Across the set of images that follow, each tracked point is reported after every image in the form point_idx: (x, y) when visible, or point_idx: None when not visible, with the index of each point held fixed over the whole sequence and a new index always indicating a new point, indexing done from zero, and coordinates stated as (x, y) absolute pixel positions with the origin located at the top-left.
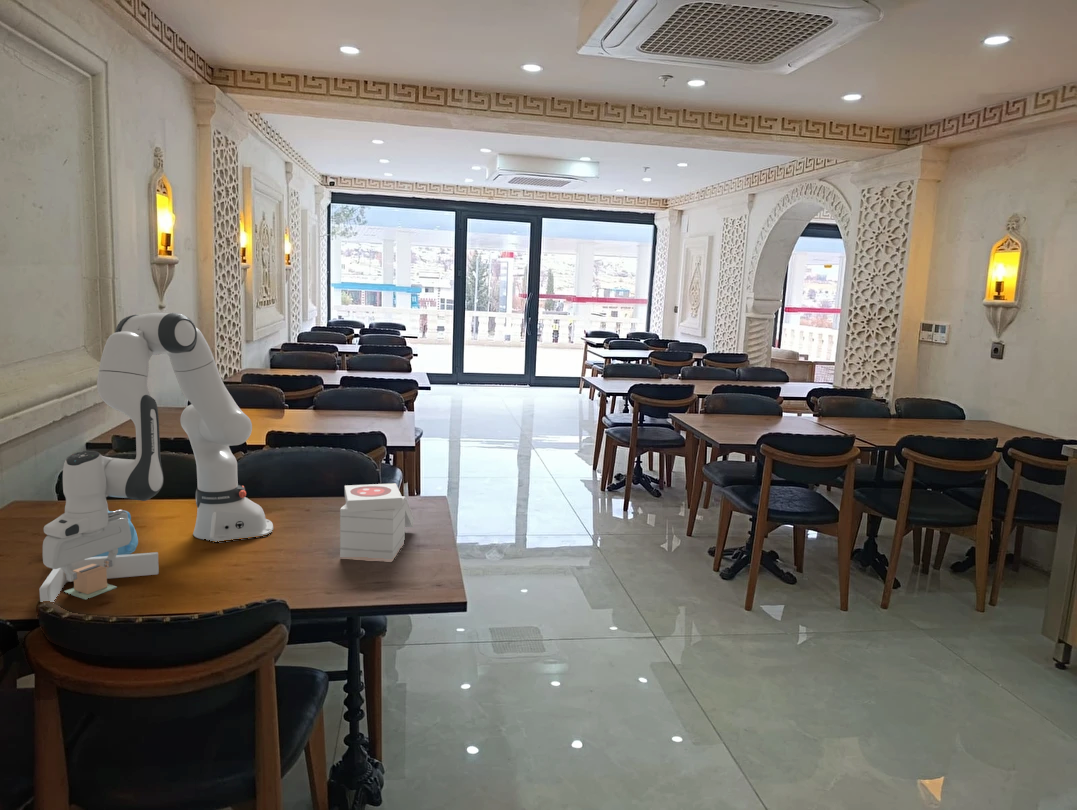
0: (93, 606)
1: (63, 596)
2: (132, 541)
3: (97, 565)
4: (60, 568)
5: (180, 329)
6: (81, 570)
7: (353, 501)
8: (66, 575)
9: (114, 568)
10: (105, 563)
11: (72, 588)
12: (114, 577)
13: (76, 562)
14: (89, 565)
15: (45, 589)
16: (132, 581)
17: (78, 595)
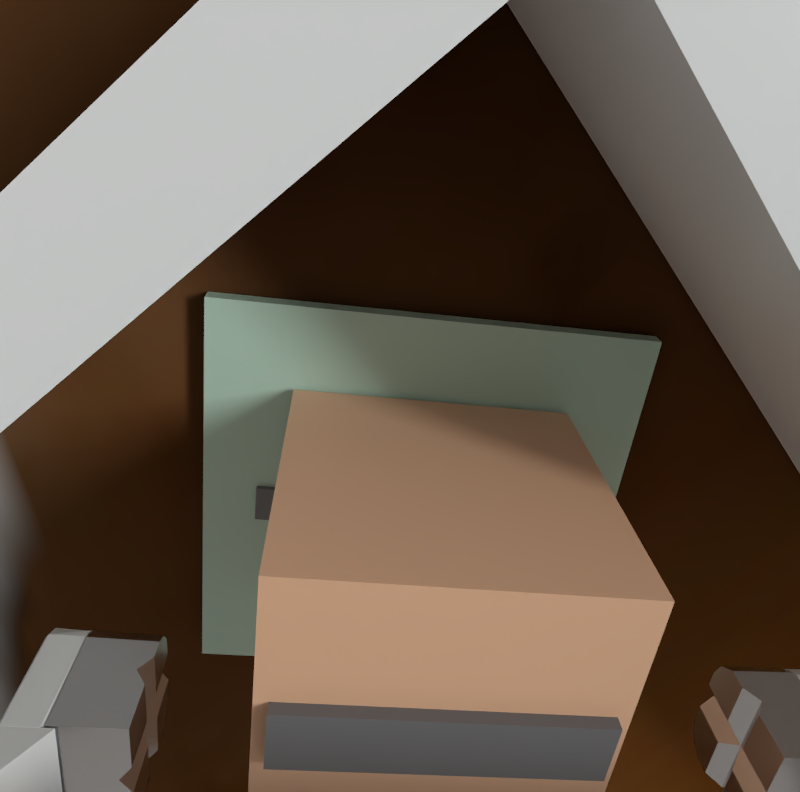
0: (150, 785)
1: (128, 388)
2: None
3: (594, 752)
4: (184, 274)
5: None
6: (306, 723)
7: None
8: (16, 691)
9: None
10: (755, 716)
11: (319, 323)
12: (793, 462)
13: (715, 161)
14: (577, 619)
15: None
16: (742, 662)
17: (215, 544)
